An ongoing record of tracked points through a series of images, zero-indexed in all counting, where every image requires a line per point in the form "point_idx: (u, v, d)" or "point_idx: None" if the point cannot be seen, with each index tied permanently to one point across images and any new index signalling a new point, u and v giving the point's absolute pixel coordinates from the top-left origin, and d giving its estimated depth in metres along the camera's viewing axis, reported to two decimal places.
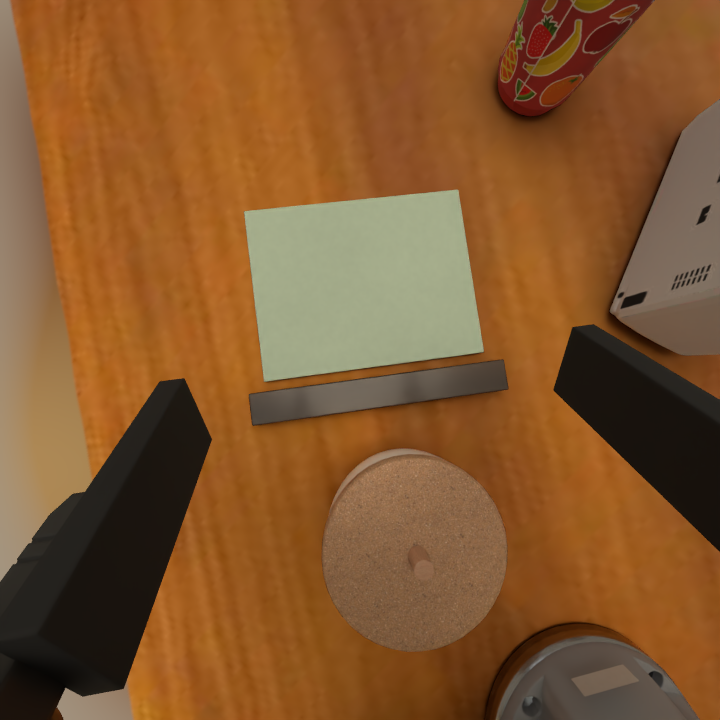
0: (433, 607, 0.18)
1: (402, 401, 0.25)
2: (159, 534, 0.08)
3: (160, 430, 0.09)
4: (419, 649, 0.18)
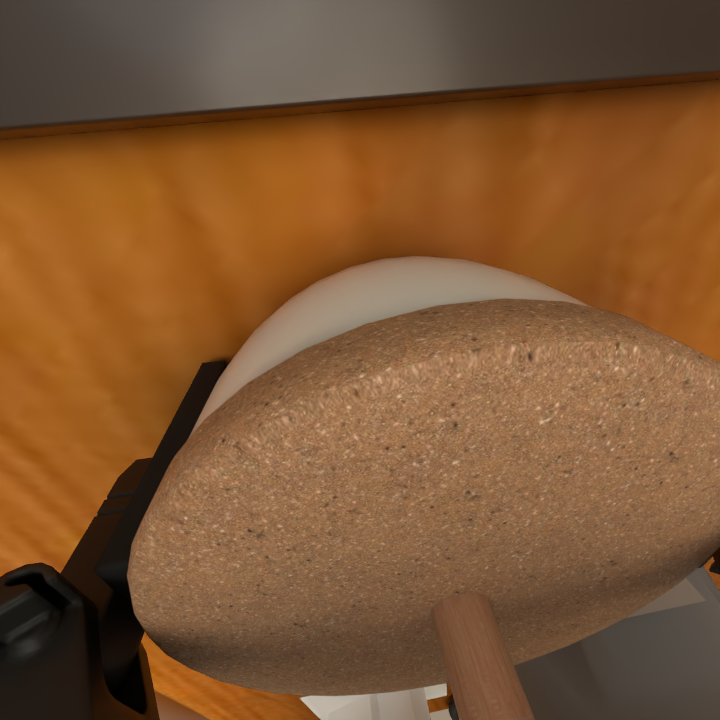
0: None
1: (449, 82, 0.07)
2: None
3: None
4: None
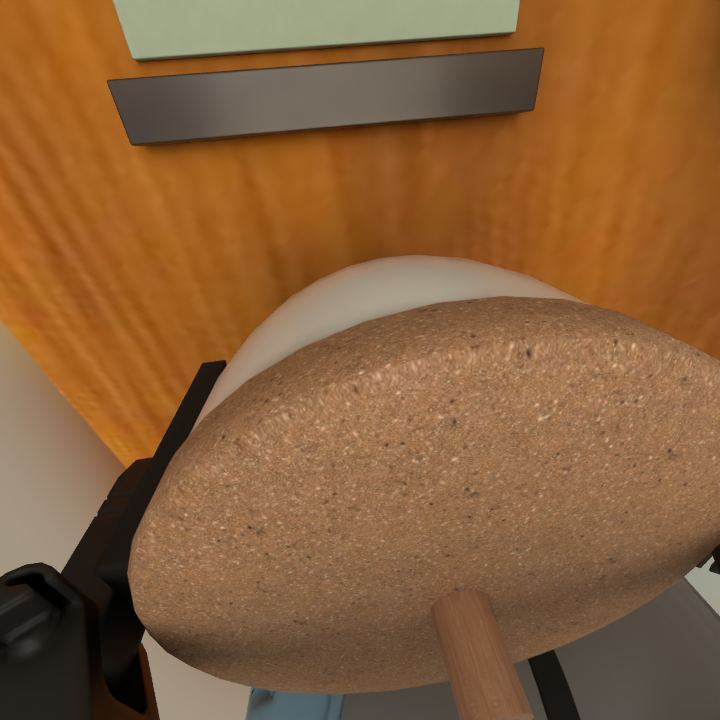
0: None
1: (370, 120, 0.16)
2: None
3: None
4: None
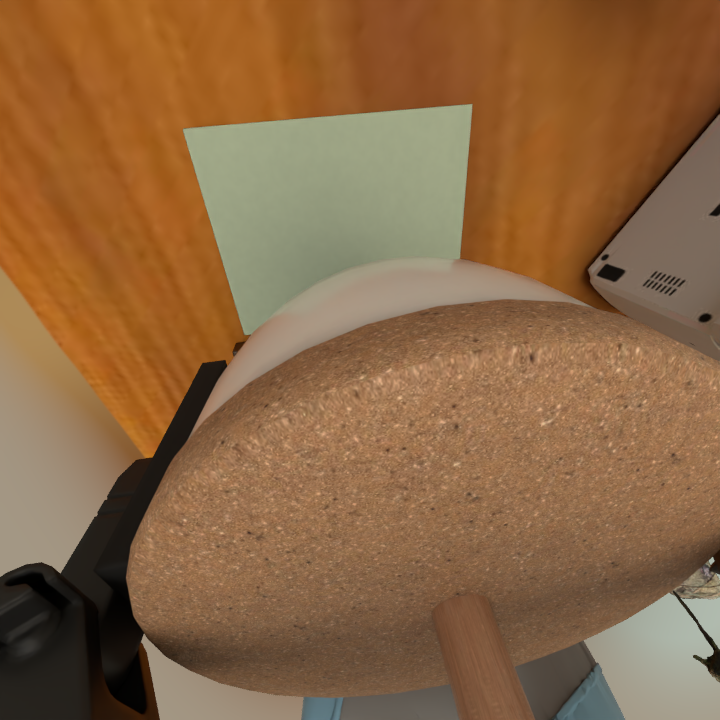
0: None
1: None
2: None
3: None
4: None
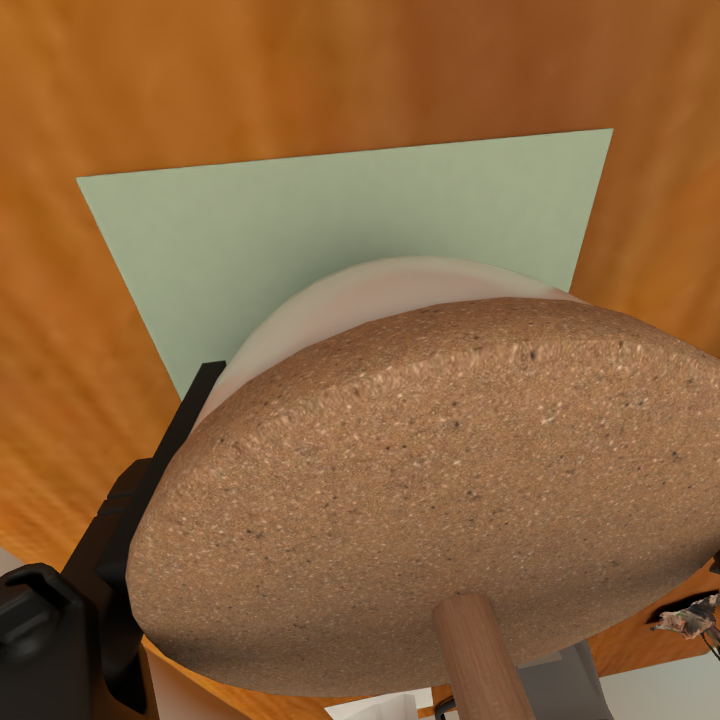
0: None
1: None
2: None
3: None
4: None
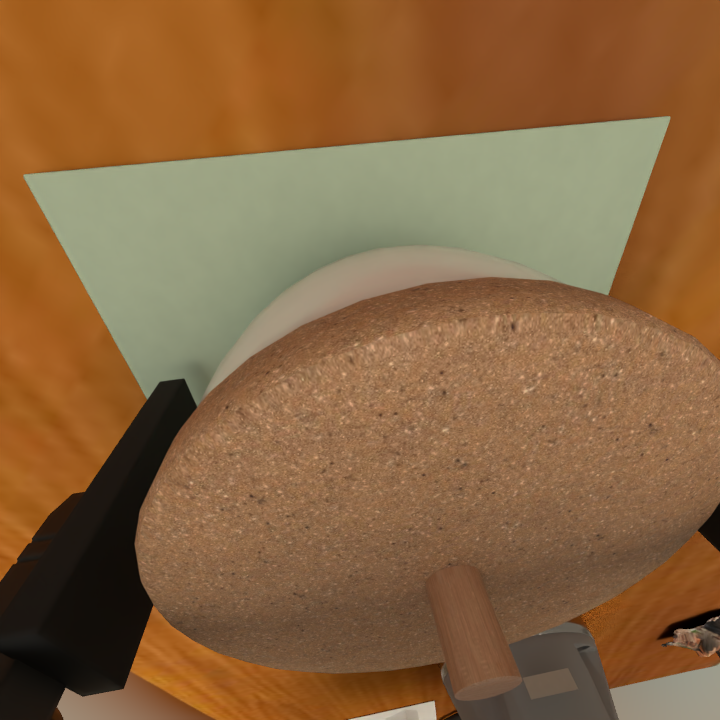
0: None
1: None
2: None
3: (160, 430, 0.09)
4: (415, 666, 0.09)
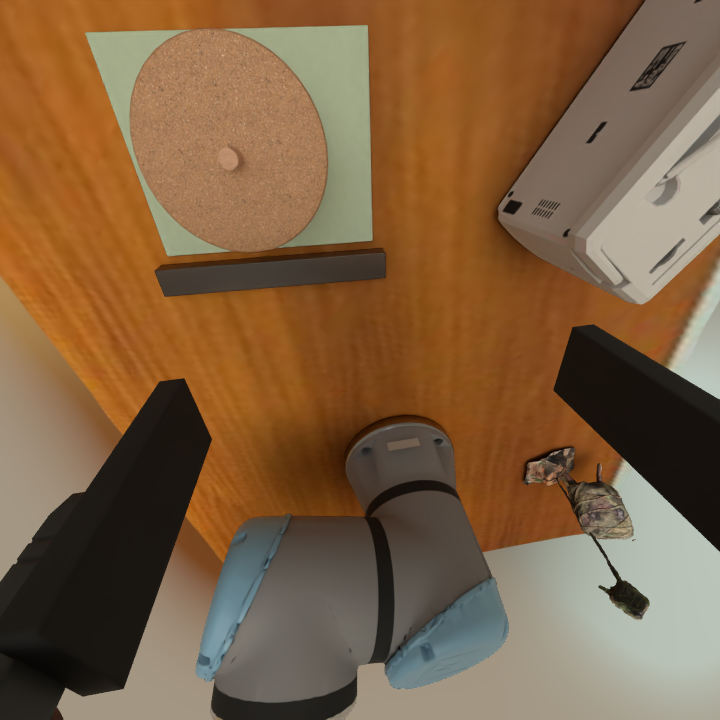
0: (253, 213, 0.20)
1: (294, 284, 0.30)
2: (159, 534, 0.08)
3: (160, 430, 0.09)
4: (244, 249, 0.21)
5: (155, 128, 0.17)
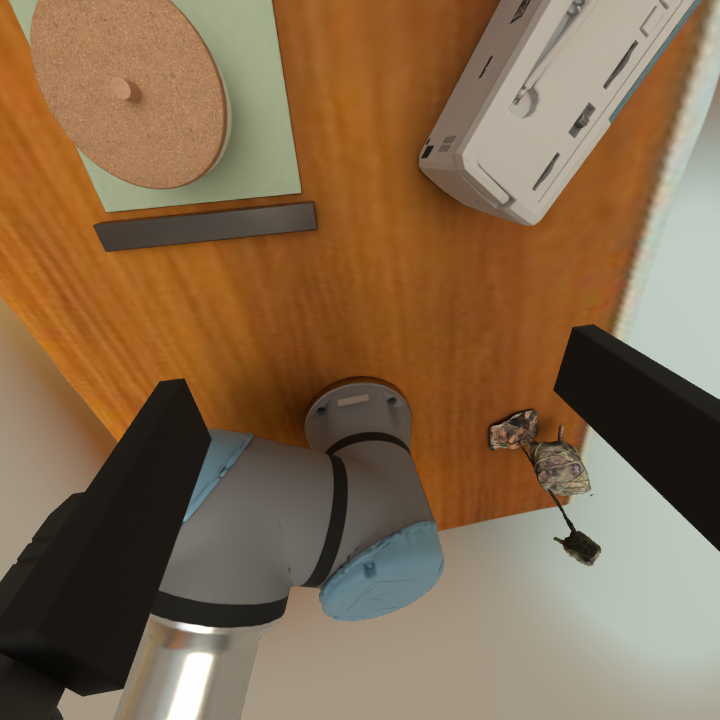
0: (159, 147, 0.22)
1: (229, 236, 0.31)
2: (159, 534, 0.08)
3: (160, 430, 0.09)
4: (157, 185, 0.23)
5: (55, 64, 0.19)
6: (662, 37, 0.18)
